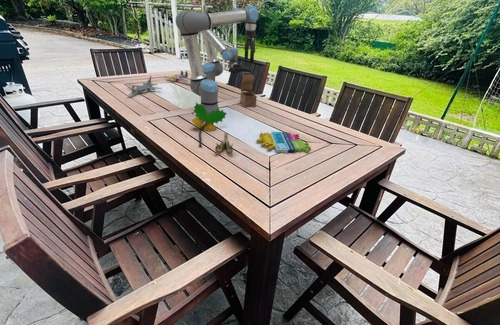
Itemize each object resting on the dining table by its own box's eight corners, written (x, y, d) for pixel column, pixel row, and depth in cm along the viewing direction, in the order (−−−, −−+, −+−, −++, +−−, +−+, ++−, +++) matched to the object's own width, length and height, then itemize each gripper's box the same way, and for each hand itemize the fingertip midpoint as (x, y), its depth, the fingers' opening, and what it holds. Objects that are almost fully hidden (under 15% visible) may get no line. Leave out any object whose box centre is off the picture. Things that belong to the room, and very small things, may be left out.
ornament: (218, 133, 171) (224, 110, 169) (221, 134, 163) (227, 111, 161) (186, 125, 162) (192, 101, 160) (189, 126, 155) (195, 101, 153)
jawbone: (234, 135, 144) (233, 125, 135) (233, 160, 138) (232, 151, 129) (217, 135, 144) (216, 125, 135) (216, 160, 138) (214, 150, 129)
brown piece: (254, 75, 207) (251, 70, 212) (243, 75, 204) (240, 70, 210) (251, 91, 216) (248, 85, 222) (240, 91, 214) (238, 85, 219)
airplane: (121, 87, 235) (119, 76, 230) (157, 85, 248) (156, 74, 243) (125, 100, 206) (123, 87, 201) (166, 97, 219) (165, 85, 214)
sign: (313, 150, 142) (258, 149, 139) (312, 153, 143) (258, 152, 140) (301, 132, 164) (254, 130, 161) (301, 134, 165) (254, 133, 162)
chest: (255, 106, 211) (256, 96, 206) (244, 107, 208) (245, 96, 204) (250, 102, 221) (251, 91, 217) (240, 102, 219) (240, 91, 214)
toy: (196, 71, 285) (184, 76, 259) (196, 78, 288) (184, 83, 262) (173, 69, 290) (158, 73, 264) (173, 75, 293) (159, 80, 267)
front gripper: (261, 31, 182) (258, 63, 193) (250, 29, 203) (248, 58, 213) (251, 31, 180) (249, 63, 190) (240, 29, 201) (239, 58, 211)
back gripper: (248, 72, 241) (256, 77, 224) (222, 72, 234) (228, 77, 216) (249, 63, 238) (257, 67, 220) (222, 63, 230) (228, 67, 213)
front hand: (248, 61), depth 202 cm, fingers open, 13 cm apart
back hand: (242, 72), depth 218 cm, fingers open, 13 cm apart
